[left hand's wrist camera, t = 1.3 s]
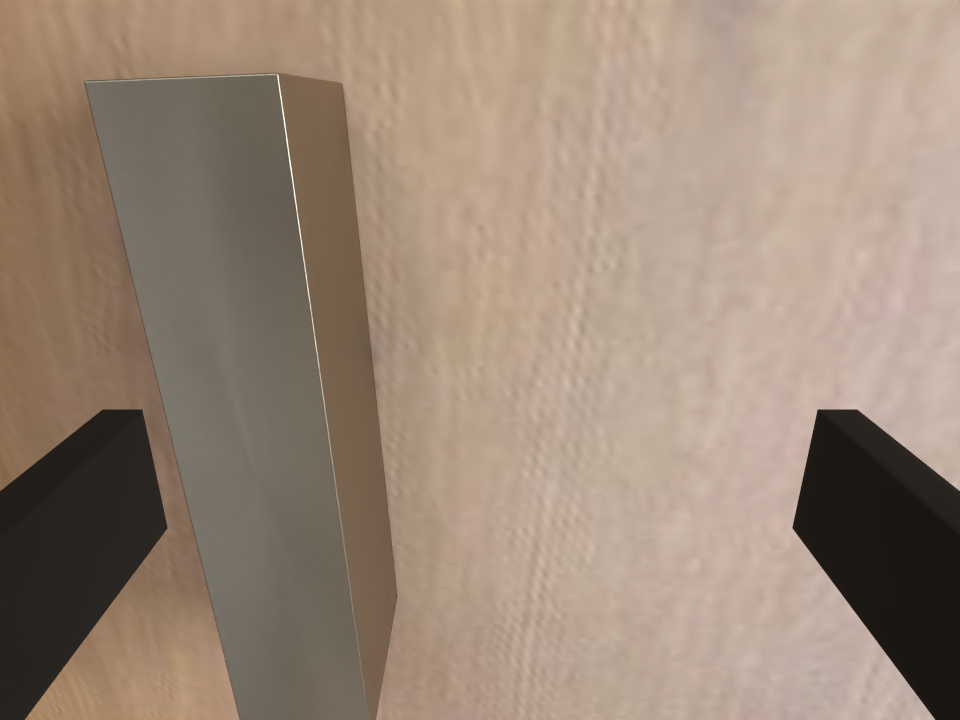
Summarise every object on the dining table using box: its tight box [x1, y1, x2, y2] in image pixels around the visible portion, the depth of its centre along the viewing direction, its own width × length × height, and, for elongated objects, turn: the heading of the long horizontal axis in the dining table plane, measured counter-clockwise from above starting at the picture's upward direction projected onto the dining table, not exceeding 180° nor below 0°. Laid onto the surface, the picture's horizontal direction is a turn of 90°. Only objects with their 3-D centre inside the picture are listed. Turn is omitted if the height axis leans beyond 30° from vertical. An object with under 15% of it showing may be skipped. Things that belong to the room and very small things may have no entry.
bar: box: [84, 73, 397, 720], centre depth 27 cm, size 27×6×9 cm, turn 2°
